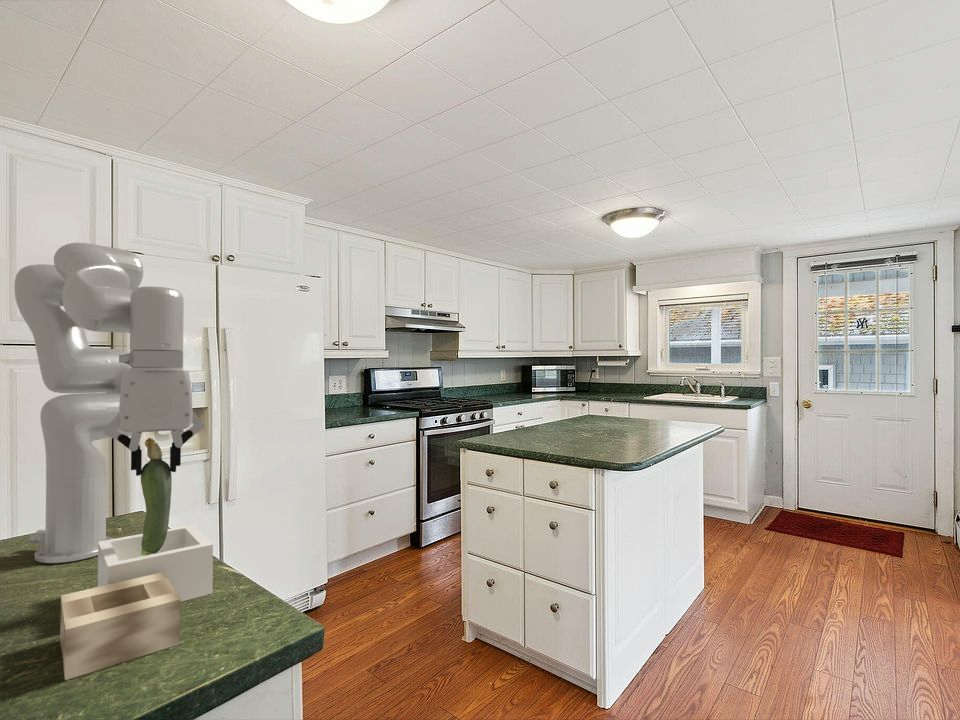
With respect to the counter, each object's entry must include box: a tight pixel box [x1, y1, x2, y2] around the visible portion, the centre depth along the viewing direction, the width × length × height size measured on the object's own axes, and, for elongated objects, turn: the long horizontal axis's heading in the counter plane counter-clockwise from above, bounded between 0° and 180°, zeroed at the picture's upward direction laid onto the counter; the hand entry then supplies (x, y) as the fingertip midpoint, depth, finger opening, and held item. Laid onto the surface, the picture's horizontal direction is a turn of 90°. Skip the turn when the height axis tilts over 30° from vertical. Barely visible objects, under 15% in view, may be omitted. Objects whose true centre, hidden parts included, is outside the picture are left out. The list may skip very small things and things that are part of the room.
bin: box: [97, 524, 214, 603], centre depth 84 cm, size 14×14×8 cm
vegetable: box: [140, 437, 173, 556], centre depth 84 cm, size 4×4×20 cm
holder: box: [59, 572, 182, 681], centre depth 69 cm, size 12×12×6 cm
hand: (156, 471), depth 84 cm, fingers closed on vegetable, 4 cm apart
